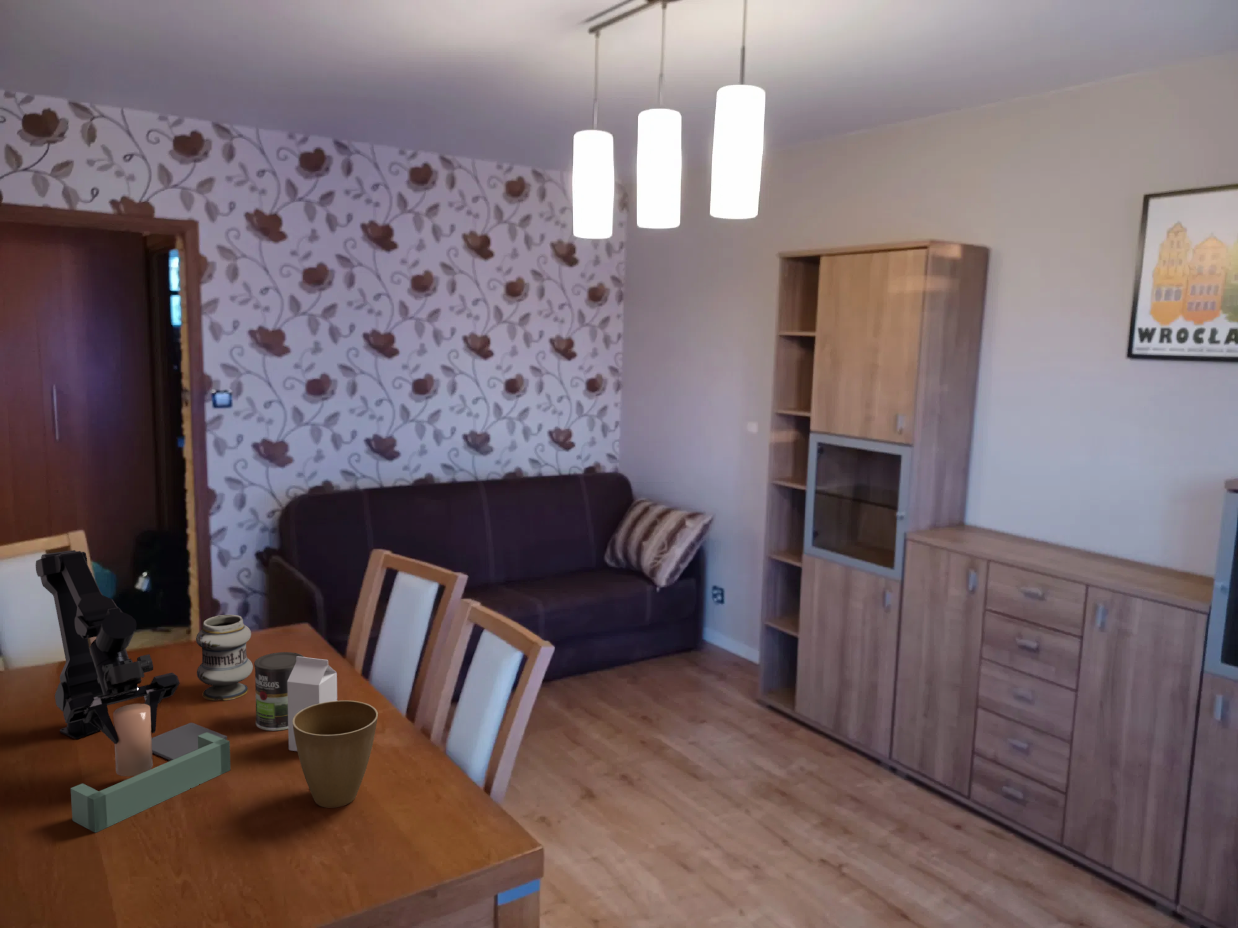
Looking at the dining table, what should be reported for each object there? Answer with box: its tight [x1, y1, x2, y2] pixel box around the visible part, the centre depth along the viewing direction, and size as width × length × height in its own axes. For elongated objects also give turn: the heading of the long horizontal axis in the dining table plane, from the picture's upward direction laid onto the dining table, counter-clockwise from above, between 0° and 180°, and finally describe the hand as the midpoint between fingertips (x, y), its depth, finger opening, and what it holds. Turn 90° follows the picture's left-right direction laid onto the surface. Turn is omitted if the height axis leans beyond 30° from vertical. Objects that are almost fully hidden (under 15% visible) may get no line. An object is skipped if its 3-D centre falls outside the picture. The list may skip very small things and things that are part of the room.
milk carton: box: [287, 656, 338, 752], centre depth 179 cm, size 7×7×19 cm
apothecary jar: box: [195, 614, 254, 702], centre depth 204 cm, size 12×12×18 cm
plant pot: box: [292, 699, 379, 809], centre depth 159 cm, size 15×15×16 cm
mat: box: [151, 722, 228, 761], centre depth 180 cm, size 12×12×1 cm
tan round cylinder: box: [112, 703, 153, 777], centre depth 162 cm, size 6×6×12 cm
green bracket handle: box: [70, 732, 231, 834], centre depth 159 cm, size 7×26×6 cm, turn 150°
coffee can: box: [253, 651, 305, 732], centre depth 190 cm, size 10×10×14 cm
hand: (135, 737), depth 160 cm, fingers closed on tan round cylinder, 6 cm apart
